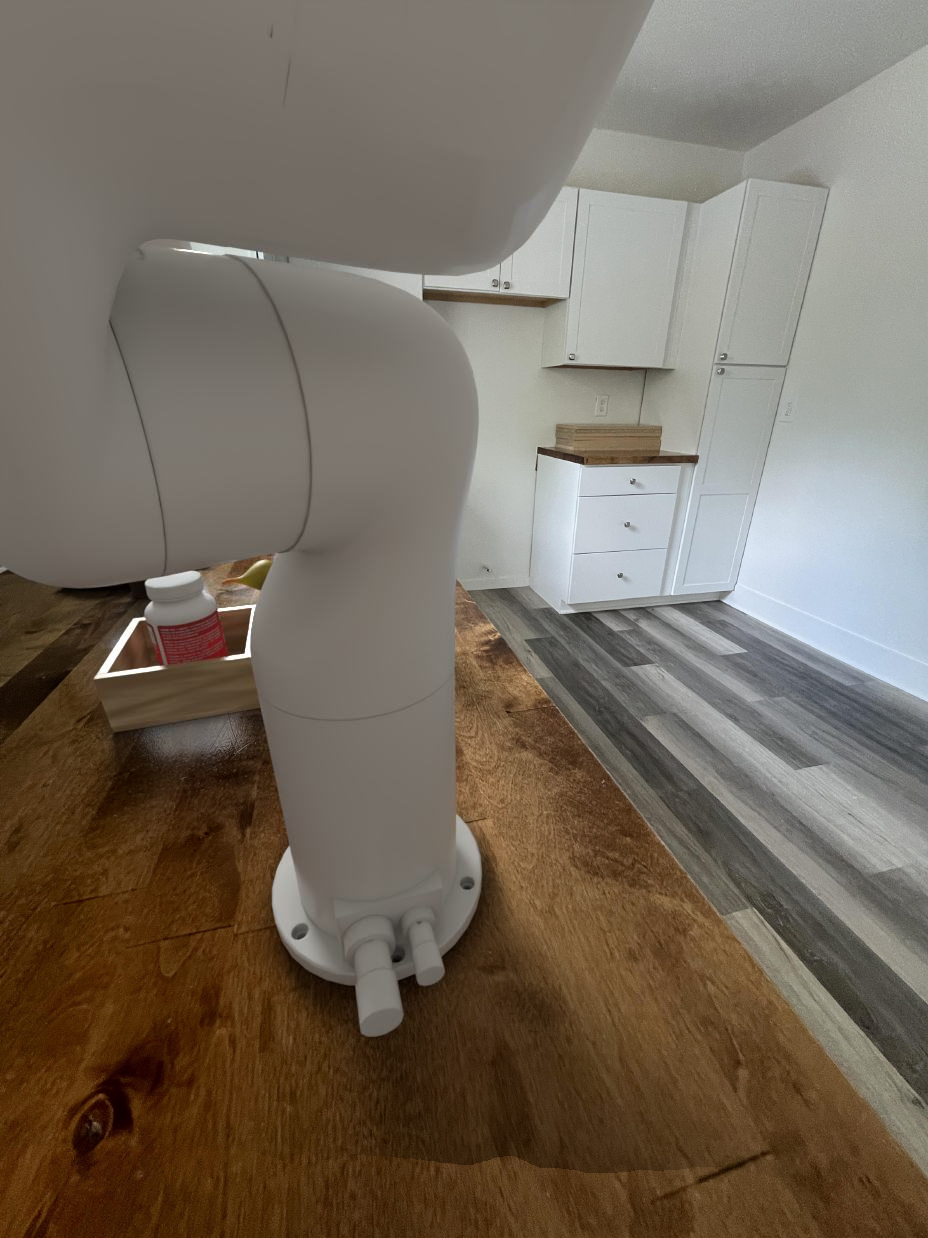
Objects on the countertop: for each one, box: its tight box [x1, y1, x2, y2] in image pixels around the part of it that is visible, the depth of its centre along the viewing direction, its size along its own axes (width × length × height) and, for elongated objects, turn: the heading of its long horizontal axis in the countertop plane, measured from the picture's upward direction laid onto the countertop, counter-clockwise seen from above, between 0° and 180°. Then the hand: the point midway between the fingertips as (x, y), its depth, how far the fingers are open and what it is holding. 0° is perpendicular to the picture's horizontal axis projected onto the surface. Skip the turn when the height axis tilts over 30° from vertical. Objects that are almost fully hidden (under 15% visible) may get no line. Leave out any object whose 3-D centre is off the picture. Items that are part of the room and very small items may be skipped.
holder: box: [92, 604, 261, 733], centre depth 50 cm, size 13×13×6 cm
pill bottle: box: [143, 570, 229, 666], centre depth 49 cm, size 6×6×11 cm
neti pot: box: [221, 559, 274, 592], centre depth 70 cm, size 4×15×6 cm, turn 131°
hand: (163, 437), depth 40 cm, fingers open, 9 cm apart
